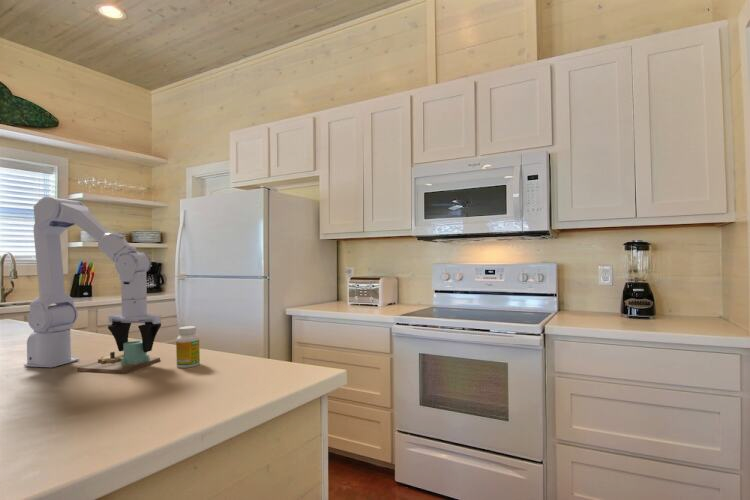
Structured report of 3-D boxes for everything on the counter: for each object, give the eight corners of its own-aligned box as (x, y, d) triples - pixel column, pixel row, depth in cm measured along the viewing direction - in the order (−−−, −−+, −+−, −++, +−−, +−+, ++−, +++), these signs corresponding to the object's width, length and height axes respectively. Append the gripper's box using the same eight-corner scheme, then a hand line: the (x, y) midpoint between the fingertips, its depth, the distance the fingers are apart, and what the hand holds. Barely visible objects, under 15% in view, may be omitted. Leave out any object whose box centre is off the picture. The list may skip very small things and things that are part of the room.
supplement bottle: (194, 368, 105) (193, 329, 105) (172, 368, 105) (171, 329, 105) (203, 362, 110) (202, 325, 110) (182, 362, 110) (182, 325, 110)
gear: (113, 364, 107) (113, 344, 107) (134, 357, 114) (134, 339, 114) (136, 365, 105) (135, 345, 105) (156, 358, 112) (155, 339, 112)
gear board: (76, 370, 105) (76, 353, 105) (116, 358, 116) (116, 343, 116) (123, 373, 101) (123, 355, 101) (160, 360, 113) (159, 344, 113)
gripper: (97, 300, 107) (98, 353, 107) (146, 300, 104) (147, 355, 104) (120, 297, 114) (121, 347, 114) (166, 297, 111) (167, 349, 111)
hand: (135, 351), depth 110 cm, fingers open, 7 cm apart
